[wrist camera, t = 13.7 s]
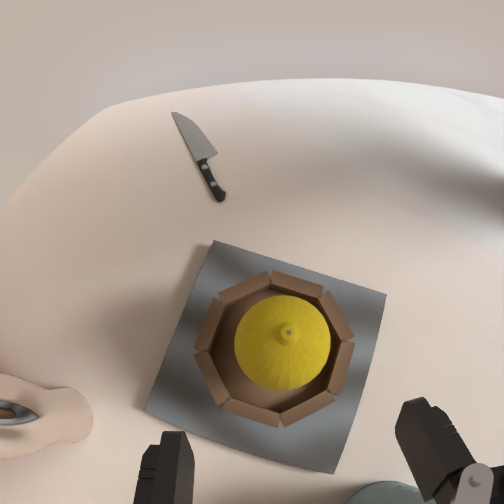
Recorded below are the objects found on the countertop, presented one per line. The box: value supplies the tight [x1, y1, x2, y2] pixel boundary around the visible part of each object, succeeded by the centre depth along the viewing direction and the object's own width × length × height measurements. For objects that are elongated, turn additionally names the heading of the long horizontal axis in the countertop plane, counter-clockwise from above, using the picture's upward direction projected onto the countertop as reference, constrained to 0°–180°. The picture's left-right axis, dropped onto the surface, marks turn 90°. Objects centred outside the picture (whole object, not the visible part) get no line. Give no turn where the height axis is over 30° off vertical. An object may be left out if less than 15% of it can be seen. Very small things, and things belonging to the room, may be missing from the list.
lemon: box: [234, 295, 331, 391], centre depth 18 cm, size 6×6×8 cm
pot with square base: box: [144, 240, 387, 474], centre depth 25 cm, size 18×18×9 cm
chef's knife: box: [172, 112, 226, 202], centre depth 39 cm, size 19×1×3 cm
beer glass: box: [0, 373, 93, 459], centre depth 19 cm, size 7×7×15 cm
